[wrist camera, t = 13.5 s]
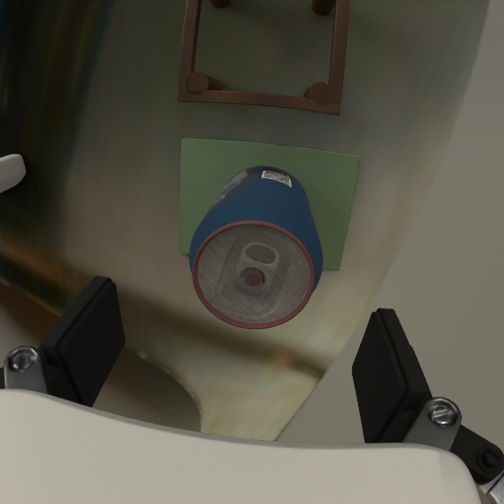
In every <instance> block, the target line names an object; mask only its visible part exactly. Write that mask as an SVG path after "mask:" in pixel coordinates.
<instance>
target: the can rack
mask: <svg viewBox="0 0 504 504" xmlns="http://www.w3.org/2000/svg"><path fill="white" fill-rule="evenodd" d="M230 1H231V0H210V2H211V3H212V4H213V5H214V6H215V7H224V6H226V5H228V4H229V3H230ZM201 2H202V0H187V3H186V11H185V19H184V28H183V37H182V46H181V57H180V68H179V81H178V97H177V101H178V102H209V103H230V104H245V105H258V106H269V107H279V108H288V109H296V110H304V111H312V112H319V113H325V114H332V115H339V114H340V106H341V104H340V103H341V97H342V88H343V78H344V67H345V56H346V44H347V30H348V14H349V0H313V2H312V9H313V10H314V12H316V13H317V14H319V15H328V14H329V13H331V11H332V9H333V8H334V6H335V12H334V26H333V39H332V52H331V63H330V74H329V84H328V83H326V82H318V83H315V84H314V85H313V86H311V87H310V88H309V89H307V90H306V91H305V93H304V98H301V97H293V96H285V95H275V94H265V93H252V92H238V91H222V84H221V83H220V81H218V80H217V79H215V78H212V77H210V76H208V75H206V74H203V73H201V72H194V68H195V57H196V46H197V37H198V27H199V18H200V10H201Z"/></svg>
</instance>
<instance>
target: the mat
mask: <svg viewBox="0 0 504 504" xmlns="http://www.w3.org/2000/svg"><path fill="white" fill-rule="evenodd" d="M359 162H360V157H359V156H355V155H349V154H343V153H337V152H330V151H323V150H316V149H309V148H301V147H293V146H284V145H275V144H266V143H255V142H244V141H231V140H217V139H199V138H182V143H181V171H180V253H184V254H189V251H190V244H191V241H192V238H193V235H194V233H195V231H196V229H197V227H198V226H199V224H200V223H201V221H202V220H203V218H204V217H205V215H206V214H207V212H208V210H209V209H210V207H211V206H212V204H213V203H214V201H215V200H216V198H217V197H218V195H219V194H220V193H221V191H222V190H223V188H224V187H225V185H226V184H227V182H228V181H229V180H230V179H231V178H232V177H233V176H235V175H236V174H237V173H239V172H241V171H243V170H245V169H247V168H251V167H255V166H271V167H276V168H279V169H281V170H284V171H286V172H287V173H289V174H290V175H292V176H293V177H294V178H295V179H296V180H297V181H298V182H299V183H300V184H301V185H302V187H303V189H304V190H305V192H306V195H307V198H308V201H309V204H310V208H311V211H312V215H313V218H314V222H315V225H316V229H317V233H318V236H319V240H320V244H321V248H322V253H323V267H322V269H327V270H337V271H339V267H340V263H341V258H342V253H343V249H344V244H345V239H346V234H347V229H348V224H349V219H350V214H351V209H352V203H353V198H354V192H355V186H356V180H357V174H358V168H359Z"/></svg>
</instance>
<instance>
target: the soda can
mask: <svg viewBox="0 0 504 504" xmlns="http://www.w3.org/2000/svg"><path fill="white" fill-rule="evenodd" d="M189 262H190V268H191V272H192V277H193V283H194V287H195V290H196V293H197V295H198V297H199V299H200V300H201V302H202V303H203V304H204V306H205V307H206V308H207V309H208V310H209V311H210V312H211V313H212V314H213V315H215V316H216V317H217V318H219V319H221V320H222V321H224V322H226V323H228V324H231V325H234V326H237V327H241V328H247V329H265V328H271V327H275V326H278V325H280V324H283V323H285V322H287V321H289V320H291V319H292V318H294V317H295V316H296V315H297V314H298V313H300V312H301V310H302V309H303V308H304V307H305V306H306V304H307V302H308V301H309V299H310V296H311V294H312V293H313V291H314V290H315V288H316V286H317V284H318V282H319V279H320V276H321V273H322V267H323V253H322V248H321V244H320V240H319V236H318V233H317V229H316V225H315V222H314V218H313V215H312V211H311V208H310V204H309V201H308V198H307V195H306V192H305V190H304V189H303V187H302V185H301V184H300V183H299V182H298V181H297V180H296V179H295V178H294V177H293V176H292V175H290V174H289V173H287V172H286V171H284V170H281V169H279V168H276V167H271V166H255V167H251V168H247V169H245V170H243V171H241V172H239V173H237V174H236V175H235V176H233V177H232V178H231V179H230V180H229V181H228V182H227V184H226V185H225V187H224V188H223V190H222V191H221V193H220V194H219V195H218V197H217V198H216V200H215V201H214V203H213V204H212V206H211V207H210V209H209V210H208V212H207V214H206V215H205V217H204V218H203V220H202V221H201V223H200V224H199V226H198V227H197V229H196V231H195V233H194V235H193V238H192V241H191V244H190V251H189Z"/></svg>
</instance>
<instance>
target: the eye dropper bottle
mask: <svg viewBox="0 0 504 504" xmlns="http://www.w3.org/2000/svg"><path fill="white" fill-rule="evenodd" d="M25 174H26V169H25V165H24V162H23V158H22V156H21V155H19V154H12V155H8V156H5V157H2V158H0V193H1V192H3V191H5V190H7V189H9V188H11V187H13V186H15V185H17V184H18V183H19V182H20V181H21V180H22V179H23V177H24V176H25Z"/></svg>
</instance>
